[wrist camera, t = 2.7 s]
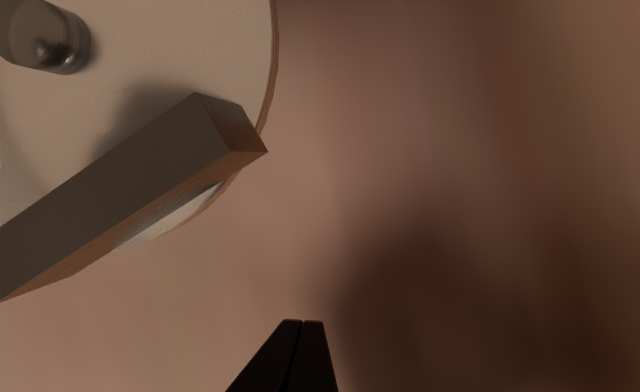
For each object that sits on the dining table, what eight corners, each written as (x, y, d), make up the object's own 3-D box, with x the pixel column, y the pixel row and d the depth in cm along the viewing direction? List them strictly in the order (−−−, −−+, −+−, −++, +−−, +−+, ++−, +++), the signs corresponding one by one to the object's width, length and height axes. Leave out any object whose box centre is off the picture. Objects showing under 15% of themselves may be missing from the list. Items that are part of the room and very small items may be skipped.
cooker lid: (359, 115, 13) (342, 100, 9) (42, 312, 16) (-72, 362, 12) (136, -264, 14) (28, -433, 10) (-140, -4, 16) (-312, -54, 12)
